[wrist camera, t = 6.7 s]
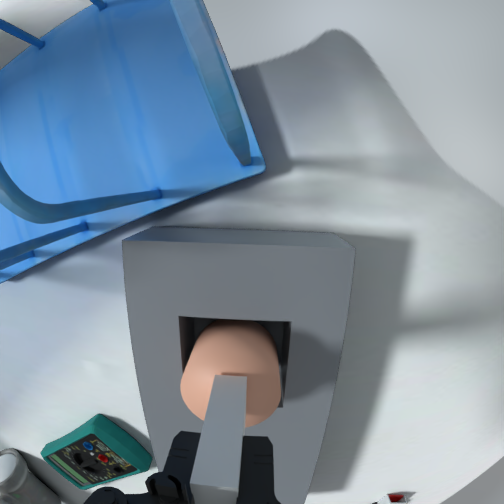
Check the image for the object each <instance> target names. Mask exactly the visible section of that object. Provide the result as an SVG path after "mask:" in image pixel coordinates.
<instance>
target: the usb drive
mask: <svg viewBox="0 0 504 504" xmlns="http://www.w3.org/2000/svg"><path fill="white" fill-rule="evenodd" d="M407 503H408V502H407V499H406V497H405V495H399V494H386V495H385V496H384V497H383V498H382V499H380V500H379V501H378V502H375V503H372V504H407Z"/></svg>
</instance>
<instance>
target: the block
mask: <svg viewBox="0 0 504 504" xmlns="http://www.w3.org/2000/svg"><path fill="white" fill-rule="evenodd" d="M122 251H123V267H124V281H125V292H126V302H127V312H128V320H129V328H130V336H131V343H132V350H133V357H134V363H135V369H136V375H137V380H138V386H139V391H140V396H141V401H142V406H143V411H144V415H145V420H146V424H147V429H148V433H149V437H150V441H151V445H152V449H153V453H154V457H155V460H156V464H157V467H158V471H159V472H163V469H164V466H165V463H166V460H167V456H168V453H169V450H170V448H171V444H172V441H173V438H174V437H175V436H176V435H177V434H178V433H179V432H180V431H189V432H198V433H201V432H202V428H203V424H204V421H203V420H201V419H200V418H199V417H197V416H196V415H195V414H193V413H192V412H191V411H190V409H189V408H188V407H187V405H186V404H185V402H184V400H183V398H182V395H181V390H180V384H181V379H182V376H183V373H184V371H185V368H186V366H187V363H188V360H189V358H190V355H191V353H192V350H193V348H194V345H195V343H196V340H197V338H198V336H199V334H200V333H201V331H202V330H203V329H204V328H205V327H206V326H207V325H209V324H210V323H212V322H214V321H216V320H219V319H237V320H252V321H254V322H256V323H258V324H260V325H261V326H263V327H264V328H265V329H266V330H267V331H268V332H269V333H270V334H271V335H272V337H273V339H274V341H275V343H276V346H277V353H278V363H279V374H280V386H281V398H280V402H279V405H278V407H277V408H276V410H275V411H274V413H273V414H272V415H271V416H270V417H269V418H267V419H266V420H264V421H263V422H261V423H259V424H256V425H254V426H250V427H246V428H245V435H244V436H268V438H269V439H270V441H271V443H272V444H273V458H274V492H275V496H276V498H277V500H278V501H279V502H280V503H281V504H304V503H305V500H306V497H307V494H308V490H309V487H310V484H311V481H312V477H313V474H314V470H315V467H316V463H317V460H318V456H319V452H320V449H321V445H322V441H323V437H324V433H325V429H326V425H327V421H328V416H329V412H330V408H331V403H332V399H333V394H334V389H335V384H336V379H337V374H338V369H339V364H340V359H341V353H342V347H343V341H344V335H345V329H346V323H347V316H348V309H349V302H350V295H351V287H352V279H353V270H354V261H355V251H356V248H354V247H353V246H352V245H350V244H349V243H347V242H346V241H345V240H343V239H342V238H340V237H339V236H337V235H336V234H335V233H325V232H303V231H279V230H252V229H222V228H185V227H151V228H148V229H146V230H144V231H142V232H139V233H137V234H135V235H132V236H130V237H128V238H126V239H124V240H122Z"/></svg>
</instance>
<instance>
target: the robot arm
mask: <svg viewBox="0 0 504 504" xmlns="http://www.w3.org/2000/svg"><path fill="white" fill-rule="evenodd" d="M246 392H247V376H229V375H215V377H214V381H213V385H212V390H211V394H210V398H209V402H208V406H207V411H206V415H205V419H204V424H203V428H202V432H201V433H198V432H189V431H180V432H179V433H178V434H177V435H176V436H175V437H174V438H173V441H172V444H171V448H170V450H169V453H168V456H167V460H166V463H165V466H164V469H163V472H158V473H154V474H153V475H151V476H150V477H148V479H147V480H146V482H145V484H146V486H147V489H148V492H147V493H143V494H124V493H123V492H122V491H120V490H119V489H117V488H114V487H102V488H99V489H97V490H96V491H94V492H93V493H92V494H91V496H90V497H89V498H88V499H87V500H86V501H85V502H84V503H83V504H281V503H280V502H279V501H278V500H277V498H276V496H275V492H274V458H273V444H272V443H271V441H270V439H269V438H268V436H244V435H245V421H246Z"/></svg>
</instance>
